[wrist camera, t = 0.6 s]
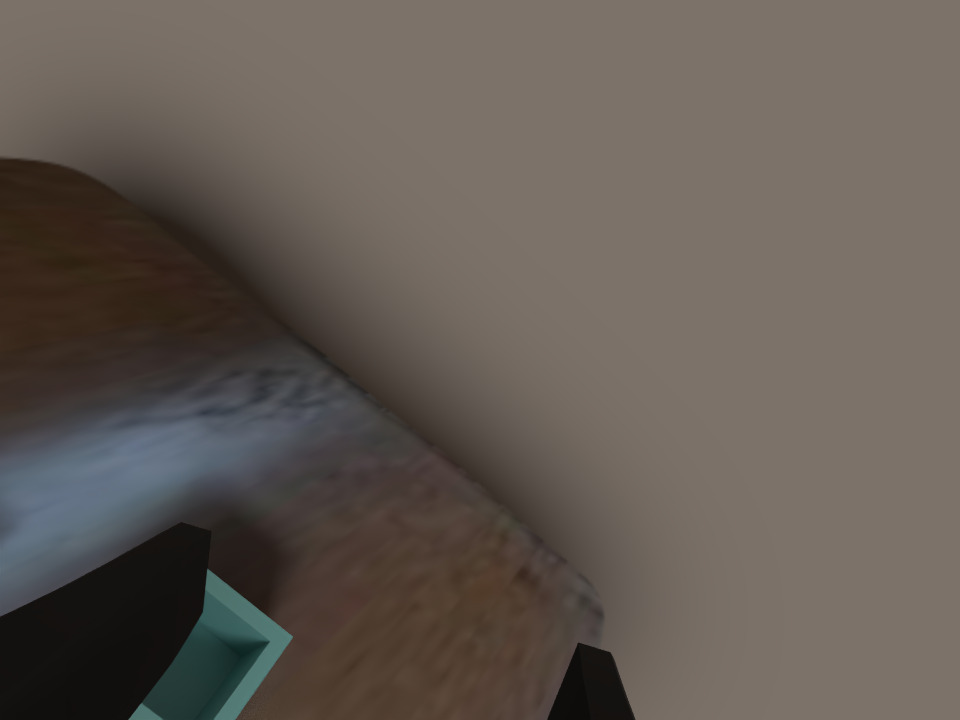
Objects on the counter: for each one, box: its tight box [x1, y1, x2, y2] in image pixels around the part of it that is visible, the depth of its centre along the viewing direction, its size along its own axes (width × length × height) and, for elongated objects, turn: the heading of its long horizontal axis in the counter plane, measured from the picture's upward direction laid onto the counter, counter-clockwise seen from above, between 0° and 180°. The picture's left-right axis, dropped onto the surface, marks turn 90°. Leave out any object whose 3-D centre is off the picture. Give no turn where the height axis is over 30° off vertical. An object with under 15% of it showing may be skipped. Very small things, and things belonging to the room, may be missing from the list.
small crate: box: [129, 569, 293, 720], centre depth 24 cm, size 5×5×4 cm
